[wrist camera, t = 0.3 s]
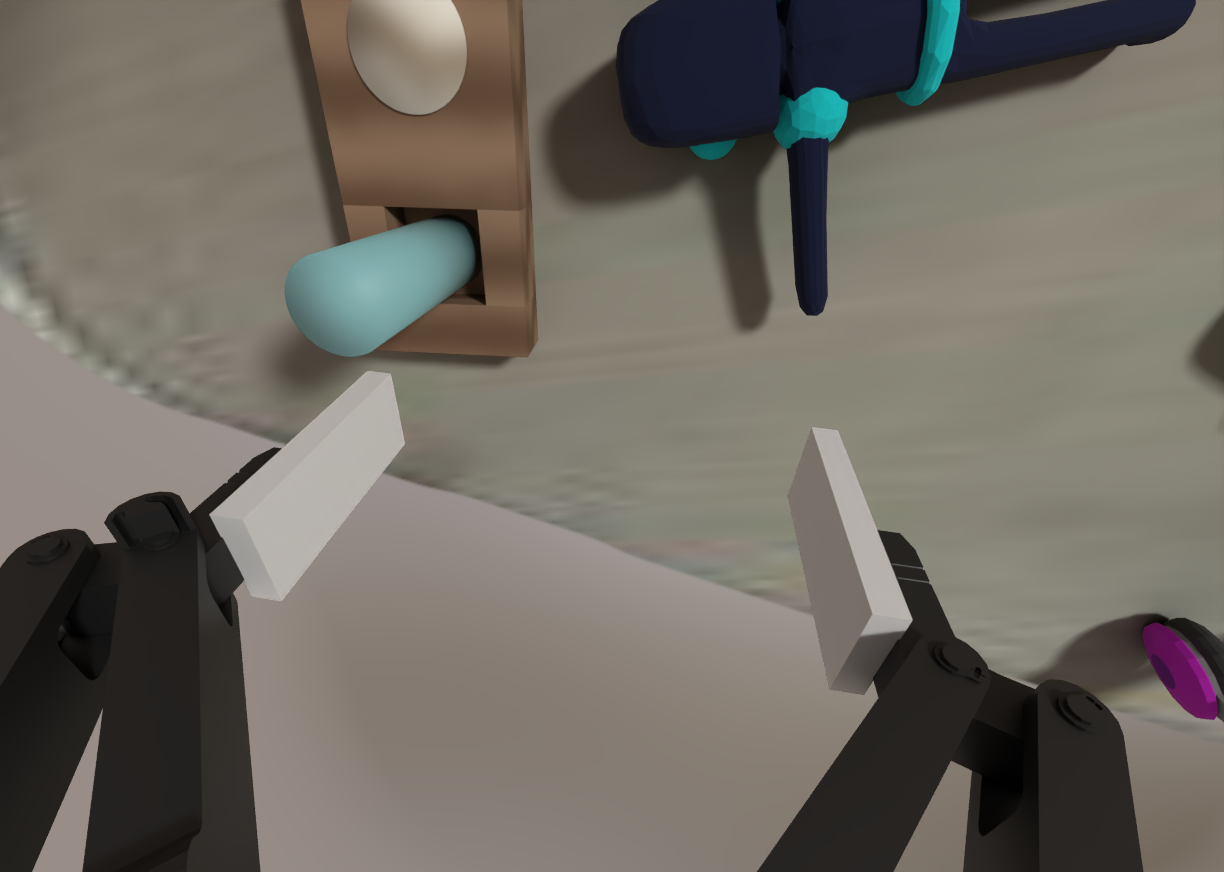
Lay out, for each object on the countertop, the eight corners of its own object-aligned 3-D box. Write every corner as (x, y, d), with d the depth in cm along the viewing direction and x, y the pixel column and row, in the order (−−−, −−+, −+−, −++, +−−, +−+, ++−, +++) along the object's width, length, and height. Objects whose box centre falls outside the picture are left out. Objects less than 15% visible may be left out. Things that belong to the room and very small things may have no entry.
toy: (1206, -451, 24) (566, -241, 28) (1459, -719, 16) (541, -384, 20) (1068, 250, 38) (657, 325, 42) (1170, 273, 31) (662, 361, 34)
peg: (413, 213, 38) (271, 250, 24) (481, 215, 38) (377, 254, 24) (423, 283, 40) (300, 354, 26) (487, 285, 40) (397, 359, 26)
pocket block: (326, -47, 32) (283, -72, 28) (519, -45, 31) (501, -71, 28) (395, 333, 44) (371, 350, 40) (537, 340, 43) (526, 358, 39)
